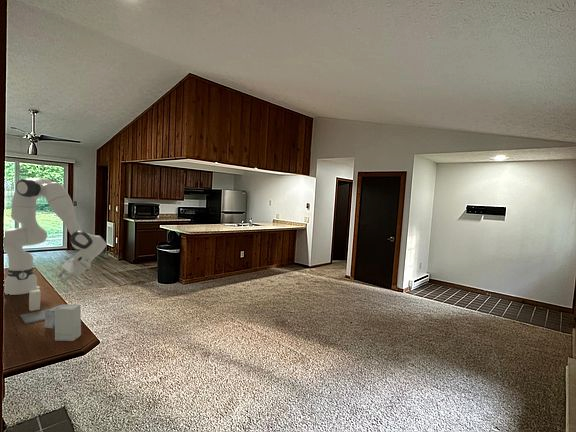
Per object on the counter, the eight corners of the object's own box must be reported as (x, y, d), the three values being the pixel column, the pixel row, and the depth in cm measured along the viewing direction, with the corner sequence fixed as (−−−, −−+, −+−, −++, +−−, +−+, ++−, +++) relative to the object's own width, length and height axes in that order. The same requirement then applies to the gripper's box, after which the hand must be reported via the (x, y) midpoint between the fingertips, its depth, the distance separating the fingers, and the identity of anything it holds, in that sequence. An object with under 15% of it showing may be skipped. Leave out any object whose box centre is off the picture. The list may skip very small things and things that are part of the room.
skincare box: (81, 335, 143) (82, 304, 142) (72, 342, 137) (73, 309, 136) (62, 334, 142) (63, 303, 141) (53, 341, 136) (53, 308, 135)
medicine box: (52, 329, 147) (52, 311, 146) (44, 327, 148) (44, 309, 147) (67, 322, 155) (67, 305, 154) (59, 321, 156) (60, 304, 155)
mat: (20, 316, 157) (20, 314, 157) (54, 309, 168) (54, 308, 168) (25, 324, 149) (25, 322, 149) (60, 316, 160) (60, 315, 160)
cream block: (28, 308, 167) (29, 290, 166) (38, 307, 170) (38, 289, 169) (30, 311, 164) (31, 292, 163) (40, 309, 167) (40, 291, 166)
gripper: (71, 253, 186) (51, 271, 179) (83, 259, 173) (61, 279, 166) (80, 259, 190) (60, 277, 183) (92, 266, 177) (71, 286, 170)
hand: (61, 278), depth 175 cm, fingers open, 8 cm apart
